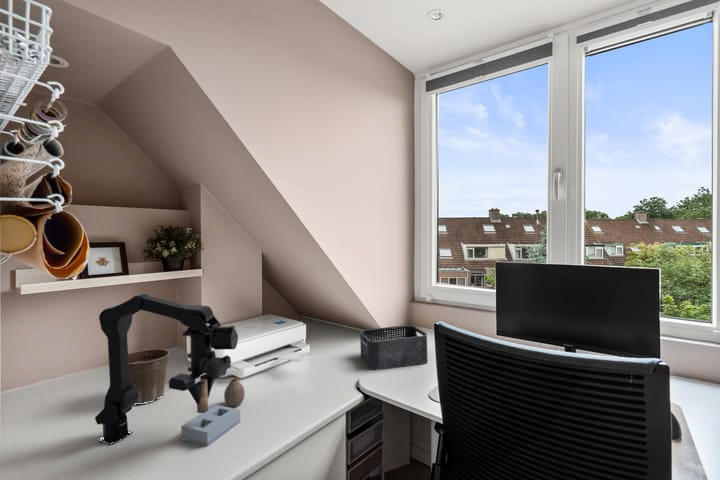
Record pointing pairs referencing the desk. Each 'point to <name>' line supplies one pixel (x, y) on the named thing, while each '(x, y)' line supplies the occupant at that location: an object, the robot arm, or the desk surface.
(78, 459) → the desk surface
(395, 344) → the storage bin
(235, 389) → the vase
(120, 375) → the robot arm
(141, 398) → the plant pot
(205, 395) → the dowel
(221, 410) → the socket block
